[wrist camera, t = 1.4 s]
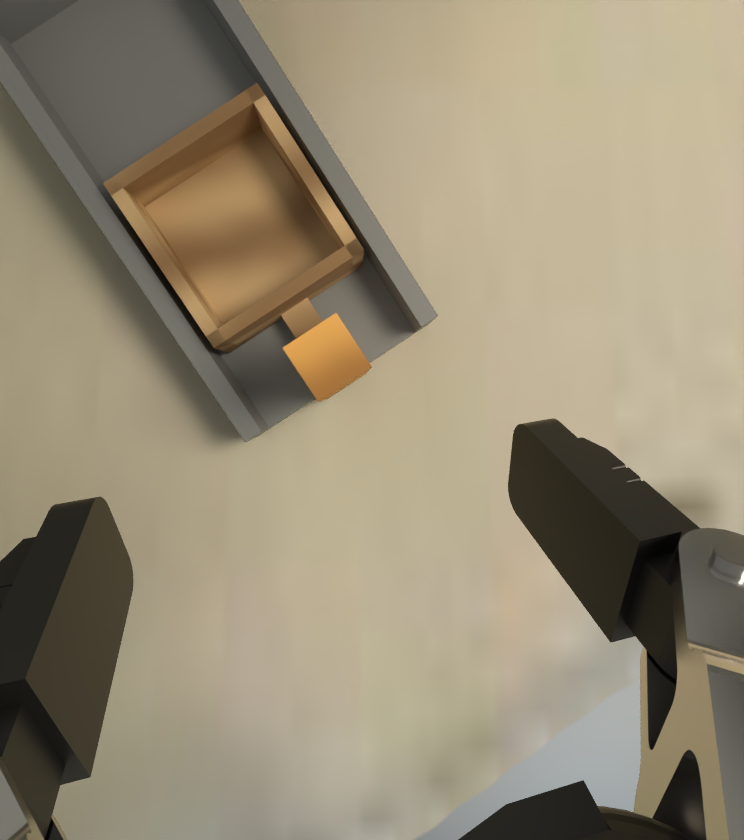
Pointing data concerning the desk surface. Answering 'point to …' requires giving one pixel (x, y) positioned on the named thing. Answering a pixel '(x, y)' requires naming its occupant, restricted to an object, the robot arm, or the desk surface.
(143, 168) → the crate
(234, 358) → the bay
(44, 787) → the robot arm
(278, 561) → the desk surface
